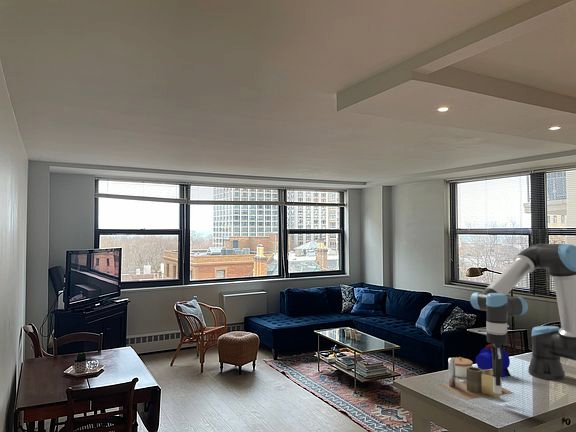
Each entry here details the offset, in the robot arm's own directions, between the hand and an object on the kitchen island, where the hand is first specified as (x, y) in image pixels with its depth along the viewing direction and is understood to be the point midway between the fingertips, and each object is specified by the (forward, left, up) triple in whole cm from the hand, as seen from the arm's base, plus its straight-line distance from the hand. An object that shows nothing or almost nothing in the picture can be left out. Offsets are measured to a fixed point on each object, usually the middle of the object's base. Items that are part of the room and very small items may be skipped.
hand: (497, 392), depth 168 cm
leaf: (-3, -7, -4) cm, 8 cm away
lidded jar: (-9, -33, -5) cm, 34 cm away
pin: (+5, -21, -4) cm, 22 cm away
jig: (-3, -16, -5) cm, 17 cm away
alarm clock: (-27, -33, -6) cm, 43 cm away
